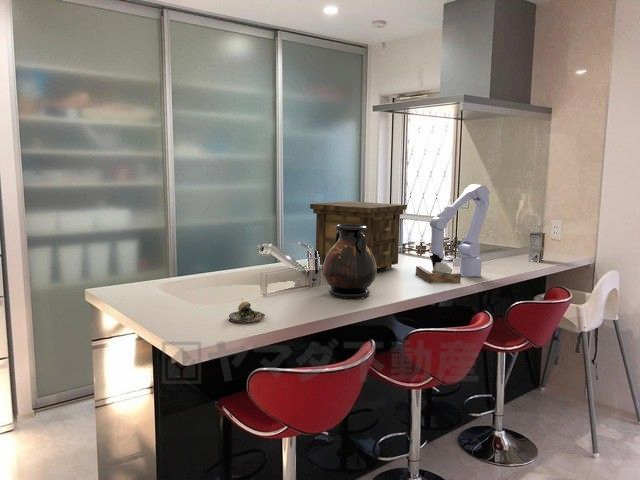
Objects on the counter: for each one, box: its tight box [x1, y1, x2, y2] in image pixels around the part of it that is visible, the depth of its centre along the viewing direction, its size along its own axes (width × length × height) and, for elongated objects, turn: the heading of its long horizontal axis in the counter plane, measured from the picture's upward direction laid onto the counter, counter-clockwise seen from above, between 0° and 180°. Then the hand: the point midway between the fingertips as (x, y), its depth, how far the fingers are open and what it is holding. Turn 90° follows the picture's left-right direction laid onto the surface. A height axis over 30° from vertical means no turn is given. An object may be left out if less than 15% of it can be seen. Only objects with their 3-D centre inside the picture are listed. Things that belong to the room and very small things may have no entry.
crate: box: [309, 200, 408, 270], centre depth 267 cm, size 35×35×33 cm
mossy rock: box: [228, 299, 266, 325], centre depth 174 cm, size 12×12×8 cm
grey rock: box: [431, 261, 453, 273], centre depth 246 cm, size 8×9×10 cm
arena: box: [415, 265, 462, 284], centre depth 248 cm, size 15×20×5 cm
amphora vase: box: [322, 224, 378, 300], centre depth 210 cm, size 22×22×28 cm
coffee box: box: [528, 231, 546, 262], centre depth 302 cm, size 9×6×16 cm
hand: (435, 270), depth 251 cm, fingers closed
